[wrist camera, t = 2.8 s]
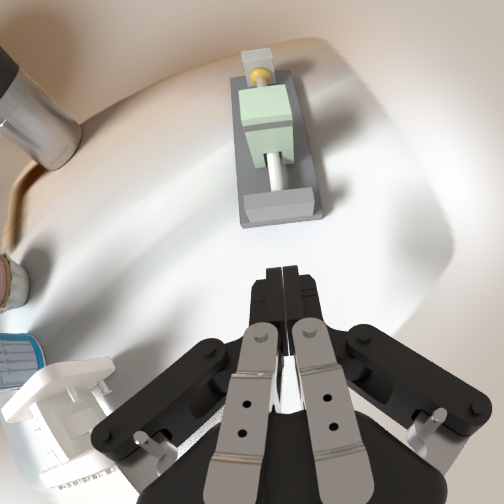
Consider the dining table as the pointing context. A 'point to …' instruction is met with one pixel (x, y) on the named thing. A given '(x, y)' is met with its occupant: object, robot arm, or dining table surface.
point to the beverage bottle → (19, 360)
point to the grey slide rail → (273, 156)
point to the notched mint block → (267, 123)
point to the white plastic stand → (66, 417)
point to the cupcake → (12, 284)
